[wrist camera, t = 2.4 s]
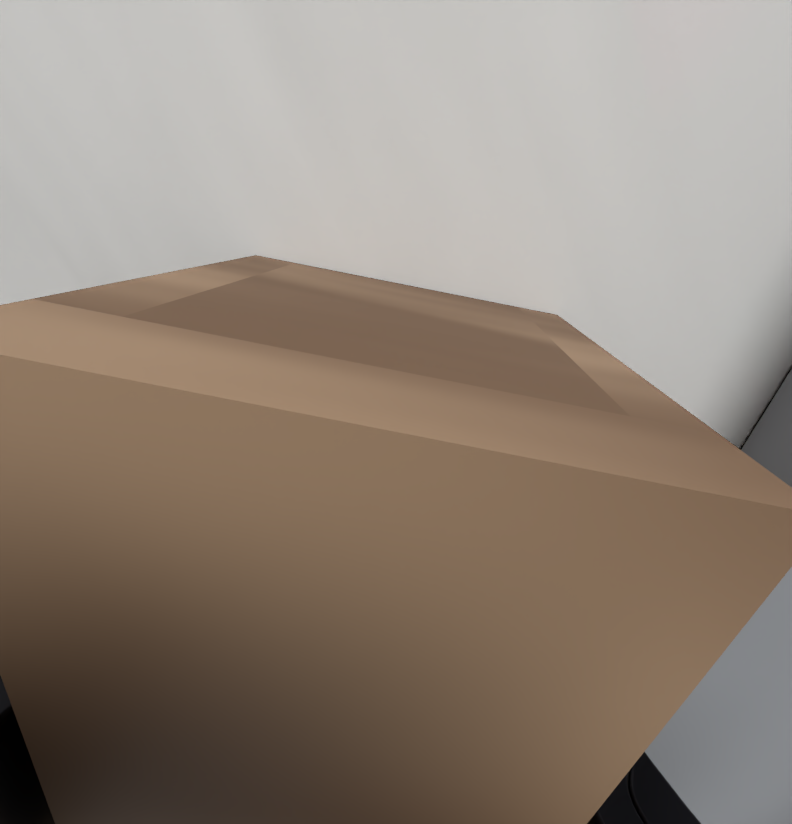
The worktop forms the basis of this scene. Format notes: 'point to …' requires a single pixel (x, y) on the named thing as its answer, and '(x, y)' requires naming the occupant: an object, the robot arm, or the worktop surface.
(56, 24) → the worktop surface
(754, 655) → the pin board
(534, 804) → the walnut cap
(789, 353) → the worktop surface
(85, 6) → the worktop surface
